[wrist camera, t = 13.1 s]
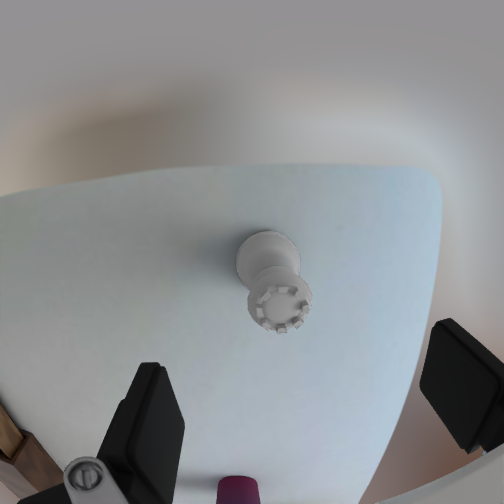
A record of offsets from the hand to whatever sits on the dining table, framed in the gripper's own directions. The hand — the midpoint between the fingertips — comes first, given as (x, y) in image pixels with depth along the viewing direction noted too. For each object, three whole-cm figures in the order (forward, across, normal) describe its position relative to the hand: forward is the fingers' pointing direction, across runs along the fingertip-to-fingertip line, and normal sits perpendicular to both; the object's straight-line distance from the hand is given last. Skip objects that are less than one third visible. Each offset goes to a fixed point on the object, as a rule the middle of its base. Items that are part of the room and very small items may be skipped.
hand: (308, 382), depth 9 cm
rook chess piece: (+13, 0, 0) cm, 13 cm away
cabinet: (+13, +42, +30) cm, 53 cm away
